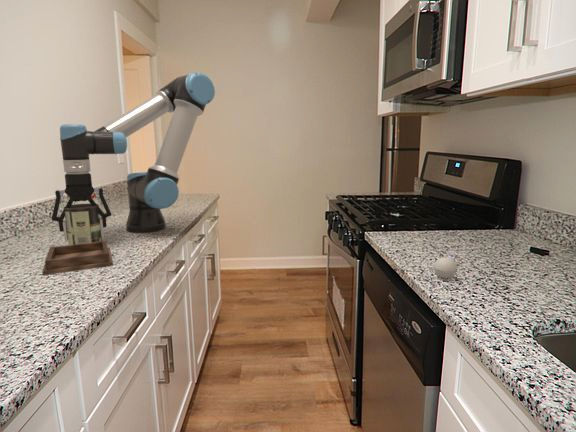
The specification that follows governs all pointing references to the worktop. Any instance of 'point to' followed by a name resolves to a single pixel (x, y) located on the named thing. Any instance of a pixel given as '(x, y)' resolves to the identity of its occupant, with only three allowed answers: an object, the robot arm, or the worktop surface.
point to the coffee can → (83, 224)
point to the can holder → (77, 257)
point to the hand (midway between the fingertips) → (84, 238)
